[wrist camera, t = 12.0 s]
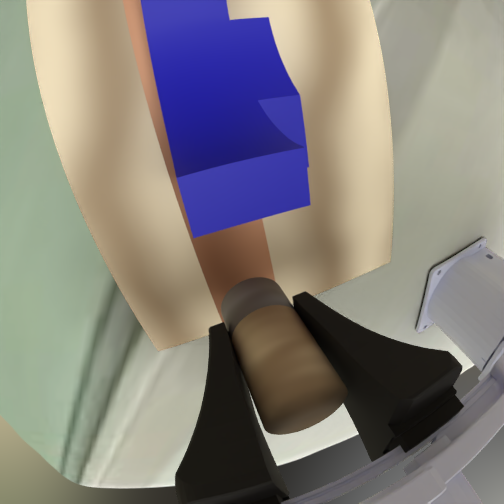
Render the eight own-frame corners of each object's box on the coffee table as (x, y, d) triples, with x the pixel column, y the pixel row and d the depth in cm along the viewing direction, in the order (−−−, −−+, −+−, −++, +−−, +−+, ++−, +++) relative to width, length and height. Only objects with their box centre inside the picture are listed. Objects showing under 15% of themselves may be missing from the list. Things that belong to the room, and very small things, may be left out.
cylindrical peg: (277, 267, 13) (350, 369, 8) (286, 314, 14) (345, 410, 9) (212, 291, 12) (255, 411, 7) (230, 336, 14) (271, 442, 9)
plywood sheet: (345, -59, 7) (348, -61, 7) (387, 259, 18) (390, 261, 18) (28, -9, 5) (25, -11, 5) (158, 347, 16) (158, 351, 16)
